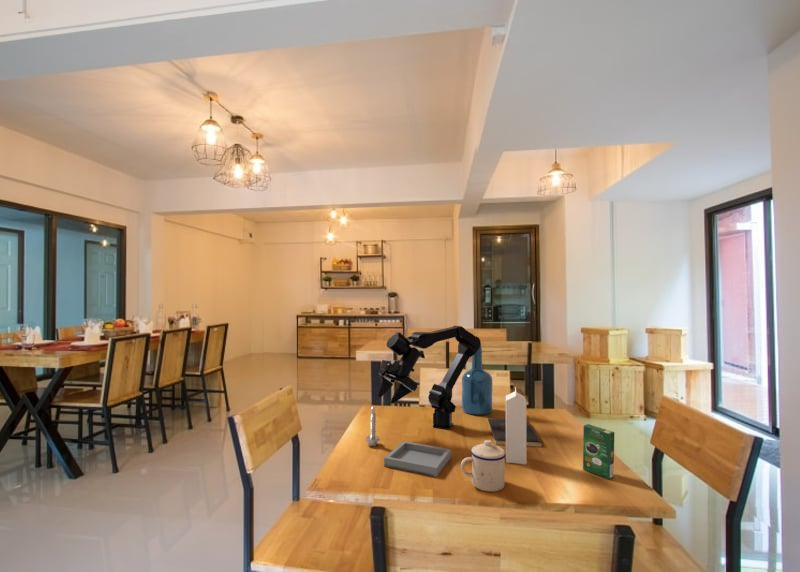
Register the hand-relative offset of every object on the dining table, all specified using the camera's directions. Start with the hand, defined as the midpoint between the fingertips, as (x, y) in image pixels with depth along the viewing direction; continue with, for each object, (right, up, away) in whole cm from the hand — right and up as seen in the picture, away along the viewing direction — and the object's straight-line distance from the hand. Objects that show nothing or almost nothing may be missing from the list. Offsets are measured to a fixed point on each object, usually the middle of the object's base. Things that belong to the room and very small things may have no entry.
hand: (385, 400), depth 139 cm
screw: (-4, -14, -6) cm, 15 cm away
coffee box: (+62, -14, -26) cm, 69 cm away
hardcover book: (+47, -15, +6) cm, 50 cm away
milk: (+41, -14, -17) cm, 47 cm away
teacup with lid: (+28, -13, -33) cm, 45 cm away
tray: (+11, -13, -19) cm, 26 cm away
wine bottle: (+39, -15, +32) cm, 53 cm away
